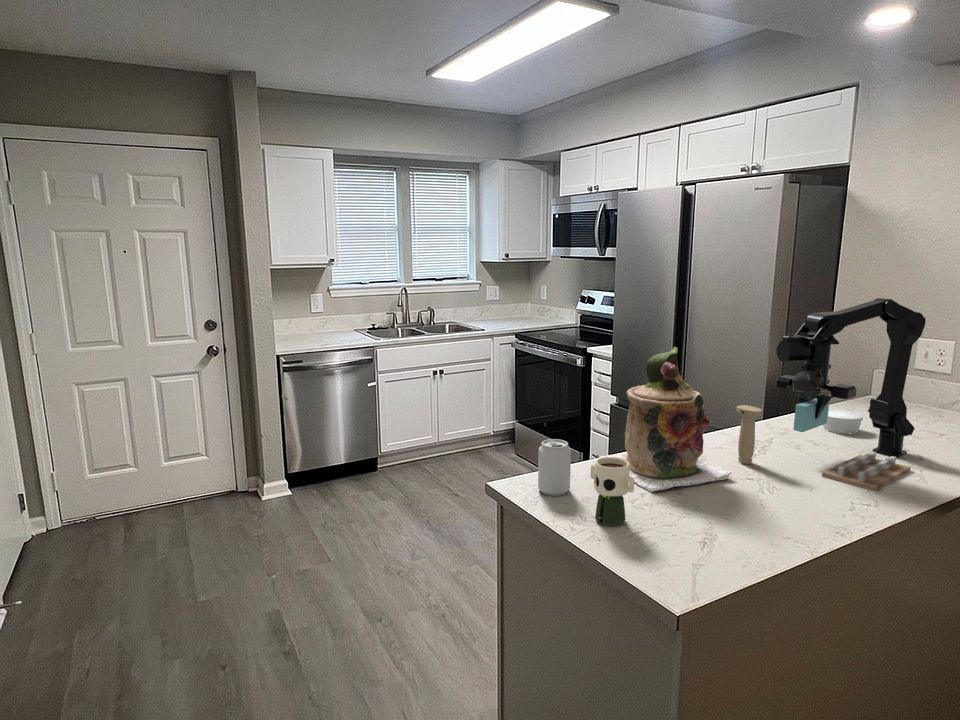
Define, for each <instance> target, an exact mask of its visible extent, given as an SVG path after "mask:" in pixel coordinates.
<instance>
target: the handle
mask: <svg viewBox="0 0 960 720" xmlns="http://www.w3.org/2000/svg"><path fill="white" fill-rule="evenodd" d="M735 411H736V413H738V414H739V415H740V416H741V421H740V430H739V436H738V441H737V442H738V443H737V444H738V445H737V446H738V447H737V448H738V449H737V452H738V462H739V463H740V464H743V465H749V464H750V465H751V464H752V462H753V456H754V452H755V447H756V446H755V443H756V420H757V417H760V416H762V415H763V409H761V408H759V407H757V406H752V405H744V404H742V405H737V406H736V408H735Z"/></svg>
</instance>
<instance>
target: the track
mask: <svg viewBox="0 0 960 720" xmlns="http://www.w3.org/2000/svg"><path fill="white" fill-rule="evenodd" d="M896 460H897V457H896V456H891V455H890V456H889V457H888V458H885V459H878V458H877V452H874V451H871V452H869V453H866V454H864V455H863V454H858V455H856V456H854V457H853V458H850V459H848V460H845V461H844V462H842V463H839V464H838V465H835V466H833V467H830V468H828V469H827V470H824V471H822V474H821V477H823V478H827V479H830V480H834V481H838V482H842V483H845V484H848V485H852V486H856V487H859V488H863V489H867V490H870V491H874V492H876V491H877V490H879V489H881V488H883V487H885V486H886V485H888V484H890V483H892V482H893V481H895V480H897V479H899V478H900V477H902V476H904V475H906V474H907V473H909V472H911V468H912V467H911V466H908V465H903V464H901V463H900V464H899V463H896Z"/></svg>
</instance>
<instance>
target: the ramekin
mask: <svg viewBox="0 0 960 720" xmlns="http://www.w3.org/2000/svg"><path fill="white" fill-rule="evenodd" d="M863 419H864V416H863V415H861V414H860V413H857V412H854V411H848V410H843V409H842V410H841V409H828V419H827V423H826V424H824V425H822V427H823V429H824V428H825V429H827V430H829V431H828V432H830V431H833V432H832V433H834V432H839V433H854V434H857V433H858V432H859V429H860V427H861V425H862V421H863ZM825 429H824V430H825ZM827 430H826V431H827ZM839 433H838V434H839Z"/></svg>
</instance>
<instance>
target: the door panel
mask: <svg viewBox="0 0 960 720" xmlns="http://www.w3.org/2000/svg"><path fill="white" fill-rule="evenodd" d="M816 406H817V397H816V398H814V399H811V400H809V401H806V402H803V403H801V402H800V403H796V404H795V411H794V420H793V429H792V430H793V431H795V432H799V433H805V432H808V431H810V430H813V429H815V428H818V427H821V426H823V425H824V424H826V423H827V419H828V410H830V409H829V407H830V401H829V402H828V403H827V405H826V406H825V408H824V410H823V411H822V413H821V415H820V416H819V418H818V419H815V412H816Z"/></svg>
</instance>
